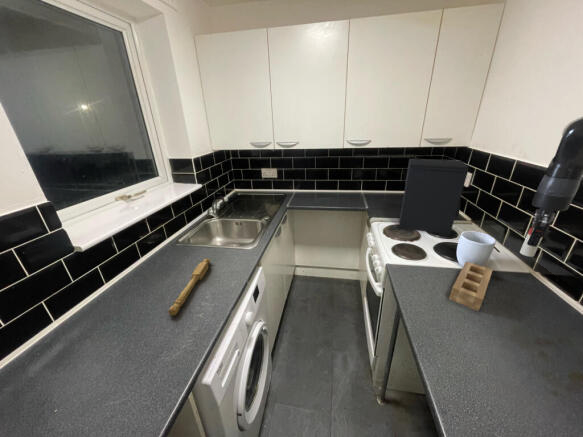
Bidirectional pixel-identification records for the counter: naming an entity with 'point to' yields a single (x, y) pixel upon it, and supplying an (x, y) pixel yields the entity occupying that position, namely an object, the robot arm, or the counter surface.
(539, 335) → the counter surface
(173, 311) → the tap handle
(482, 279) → the holder
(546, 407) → the counter surface
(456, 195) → the tall black box
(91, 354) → the counter surface
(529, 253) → the red capped shaker
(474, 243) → the mug
